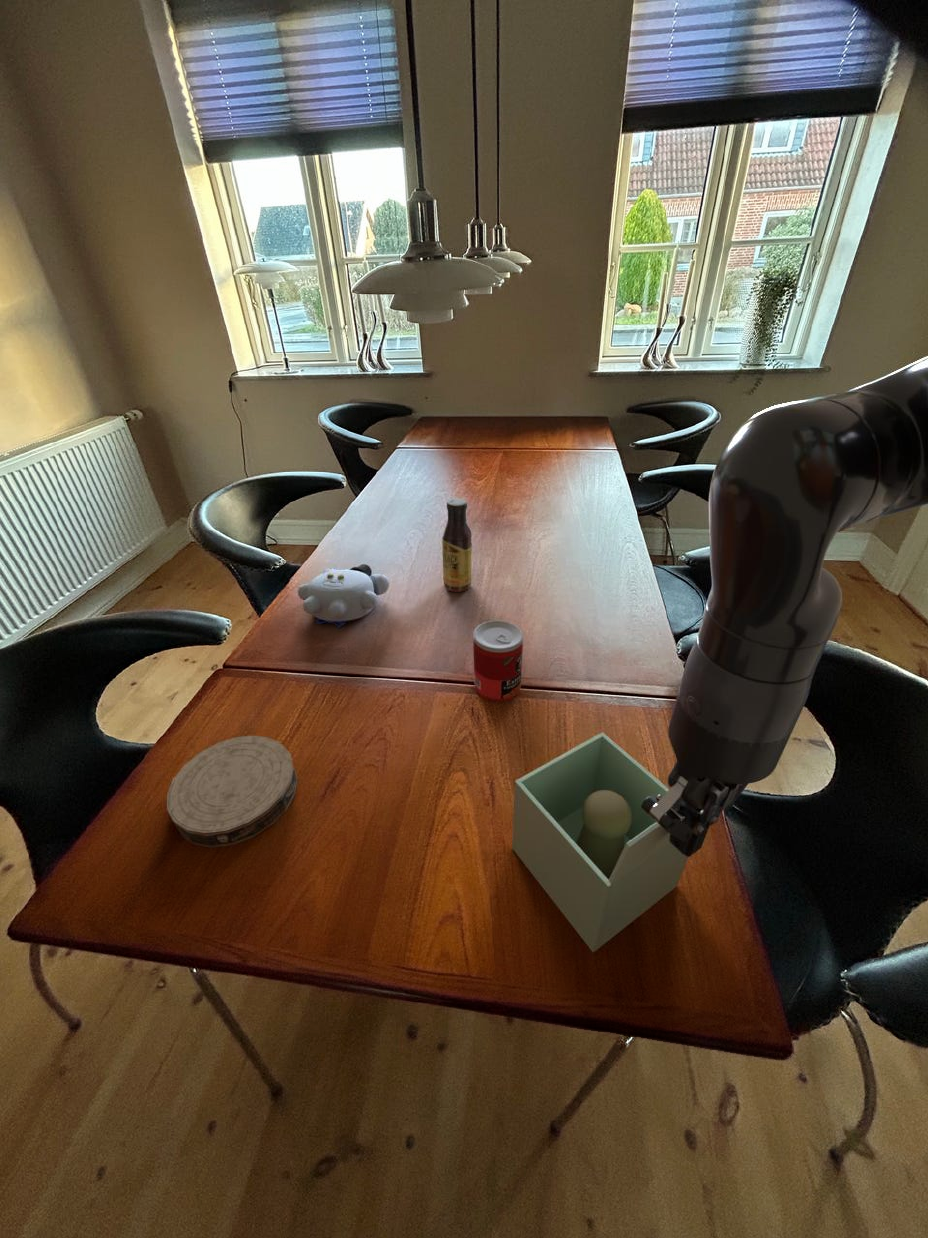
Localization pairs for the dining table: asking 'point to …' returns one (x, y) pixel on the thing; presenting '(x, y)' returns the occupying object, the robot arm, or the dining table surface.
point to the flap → (640, 850)
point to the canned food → (497, 660)
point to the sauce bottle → (457, 548)
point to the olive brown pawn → (604, 829)
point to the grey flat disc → (232, 791)
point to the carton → (555, 825)
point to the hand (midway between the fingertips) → (684, 844)
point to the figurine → (342, 594)
